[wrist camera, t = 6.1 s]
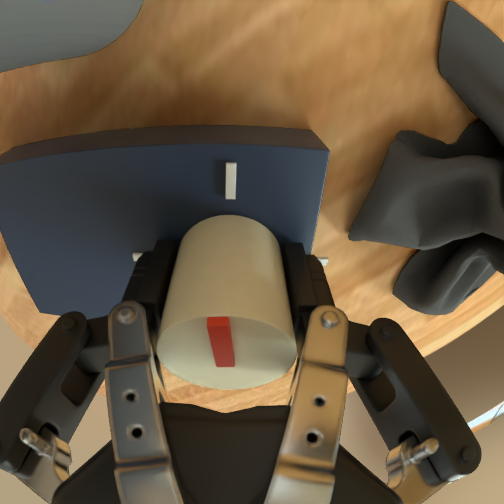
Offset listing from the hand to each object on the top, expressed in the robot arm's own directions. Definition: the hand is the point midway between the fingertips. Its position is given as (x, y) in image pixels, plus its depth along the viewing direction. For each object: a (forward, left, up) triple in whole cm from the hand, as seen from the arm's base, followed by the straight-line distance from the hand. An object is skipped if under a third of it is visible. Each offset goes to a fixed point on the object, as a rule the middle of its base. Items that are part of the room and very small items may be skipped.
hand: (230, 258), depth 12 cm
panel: (-4, 0, -3) cm, 6 cm away
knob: (0, 0, 0) cm, 0 cm away
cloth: (+15, +3, -3) cm, 16 cm away
